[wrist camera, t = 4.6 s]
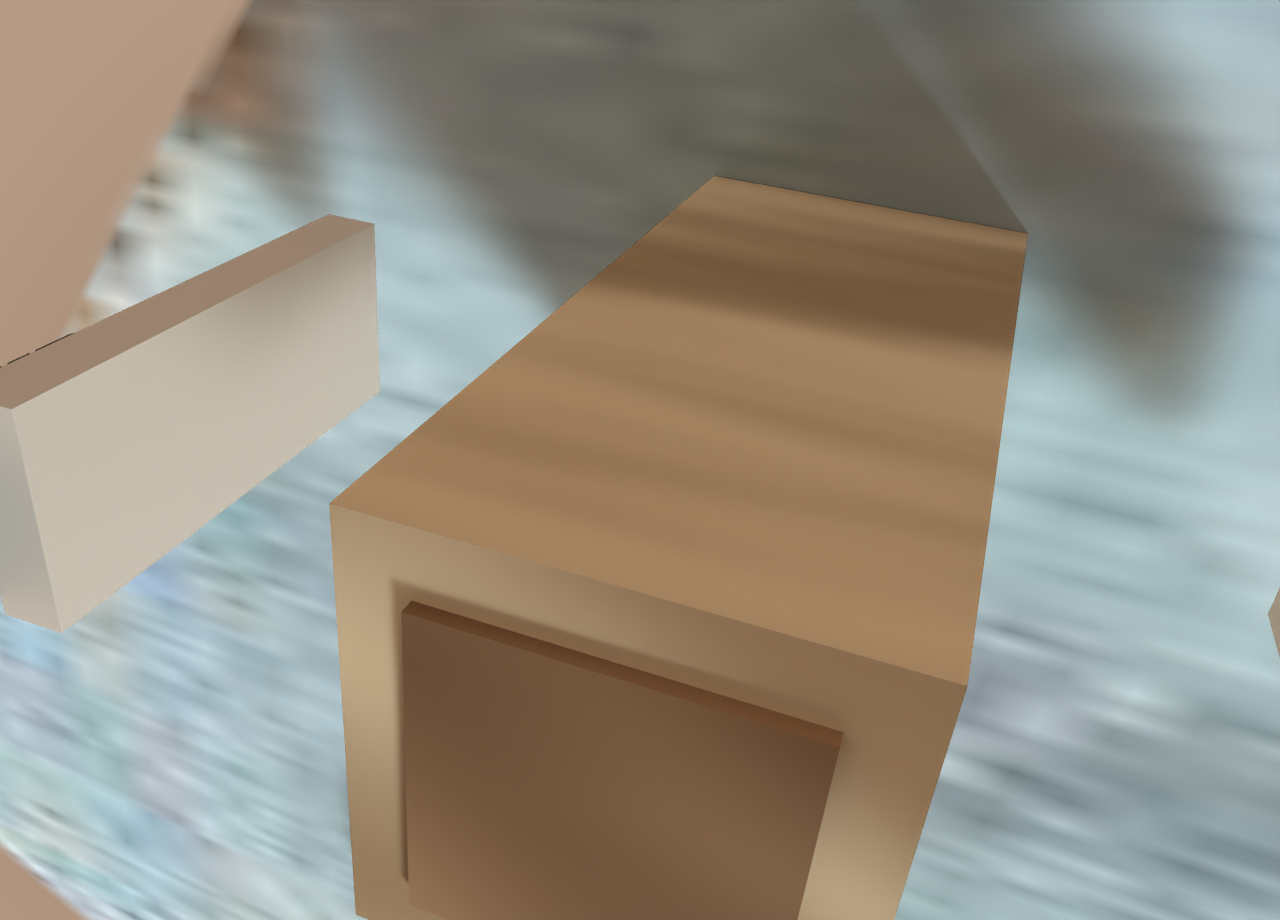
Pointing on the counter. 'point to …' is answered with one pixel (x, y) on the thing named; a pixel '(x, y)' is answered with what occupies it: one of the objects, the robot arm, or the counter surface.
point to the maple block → (684, 578)
